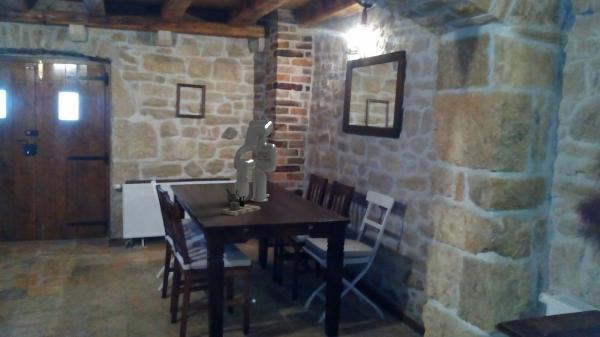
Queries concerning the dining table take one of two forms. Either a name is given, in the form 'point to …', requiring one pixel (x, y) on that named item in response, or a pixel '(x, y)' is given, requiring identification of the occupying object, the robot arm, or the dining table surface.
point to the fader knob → (234, 205)
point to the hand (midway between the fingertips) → (241, 206)
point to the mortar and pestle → (231, 196)
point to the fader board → (241, 210)
